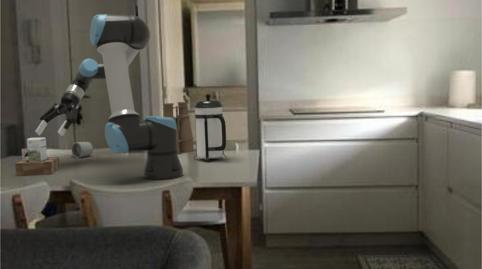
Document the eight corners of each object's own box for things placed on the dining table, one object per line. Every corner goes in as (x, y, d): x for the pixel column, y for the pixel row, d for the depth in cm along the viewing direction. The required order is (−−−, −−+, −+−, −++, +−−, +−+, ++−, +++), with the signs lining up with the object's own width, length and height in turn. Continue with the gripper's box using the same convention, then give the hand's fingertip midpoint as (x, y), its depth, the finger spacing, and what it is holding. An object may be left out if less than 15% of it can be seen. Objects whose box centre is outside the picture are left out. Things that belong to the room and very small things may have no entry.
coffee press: (188, 162, 239) (185, 94, 236) (199, 157, 255) (197, 93, 251) (226, 163, 235) (224, 94, 232) (235, 157, 250) (233, 92, 247)
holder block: (51, 174, 221) (50, 162, 221) (16, 175, 220) (15, 163, 219) (59, 168, 235) (58, 156, 234) (26, 169, 234) (25, 158, 233)
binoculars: (171, 155, 261) (169, 104, 258) (156, 154, 266) (153, 104, 263) (198, 150, 277) (196, 101, 275) (183, 149, 283) (181, 101, 280)
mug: (25, 164, 247) (24, 150, 247) (20, 163, 252) (19, 149, 252) (47, 162, 254) (46, 148, 253) (42, 160, 259) (41, 146, 258)
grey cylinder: (95, 156, 268) (93, 140, 267) (81, 158, 261) (80, 142, 261) (80, 155, 274) (79, 140, 273) (67, 157, 267) (66, 142, 266)
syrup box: (48, 170, 230) (46, 136, 228) (41, 173, 224) (39, 138, 222) (35, 170, 231) (33, 137, 229) (28, 173, 225) (26, 138, 223)
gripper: (97, 102, 240) (74, 140, 229) (57, 102, 252) (34, 138, 241) (88, 91, 235) (64, 129, 223) (47, 91, 247) (23, 127, 235)
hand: (48, 134), depth 232 cm, fingers open, 13 cm apart
